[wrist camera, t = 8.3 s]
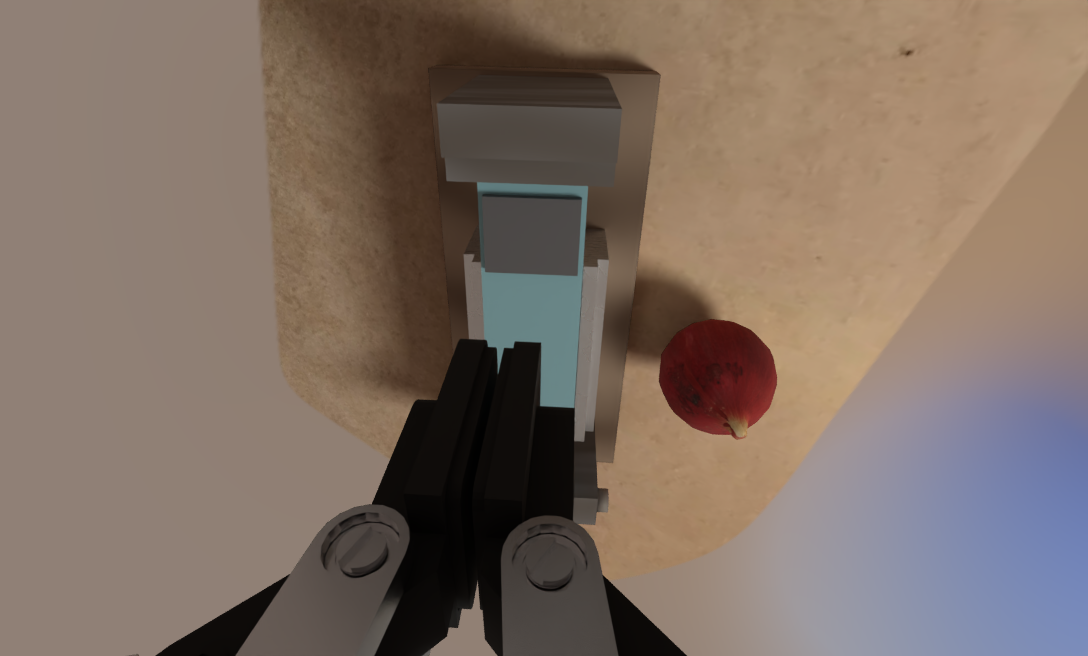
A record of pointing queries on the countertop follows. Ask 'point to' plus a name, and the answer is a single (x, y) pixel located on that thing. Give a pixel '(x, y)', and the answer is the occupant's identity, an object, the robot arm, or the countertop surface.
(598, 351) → the heat sink
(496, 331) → the bar
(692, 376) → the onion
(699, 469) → the countertop surface
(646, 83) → the clip base
